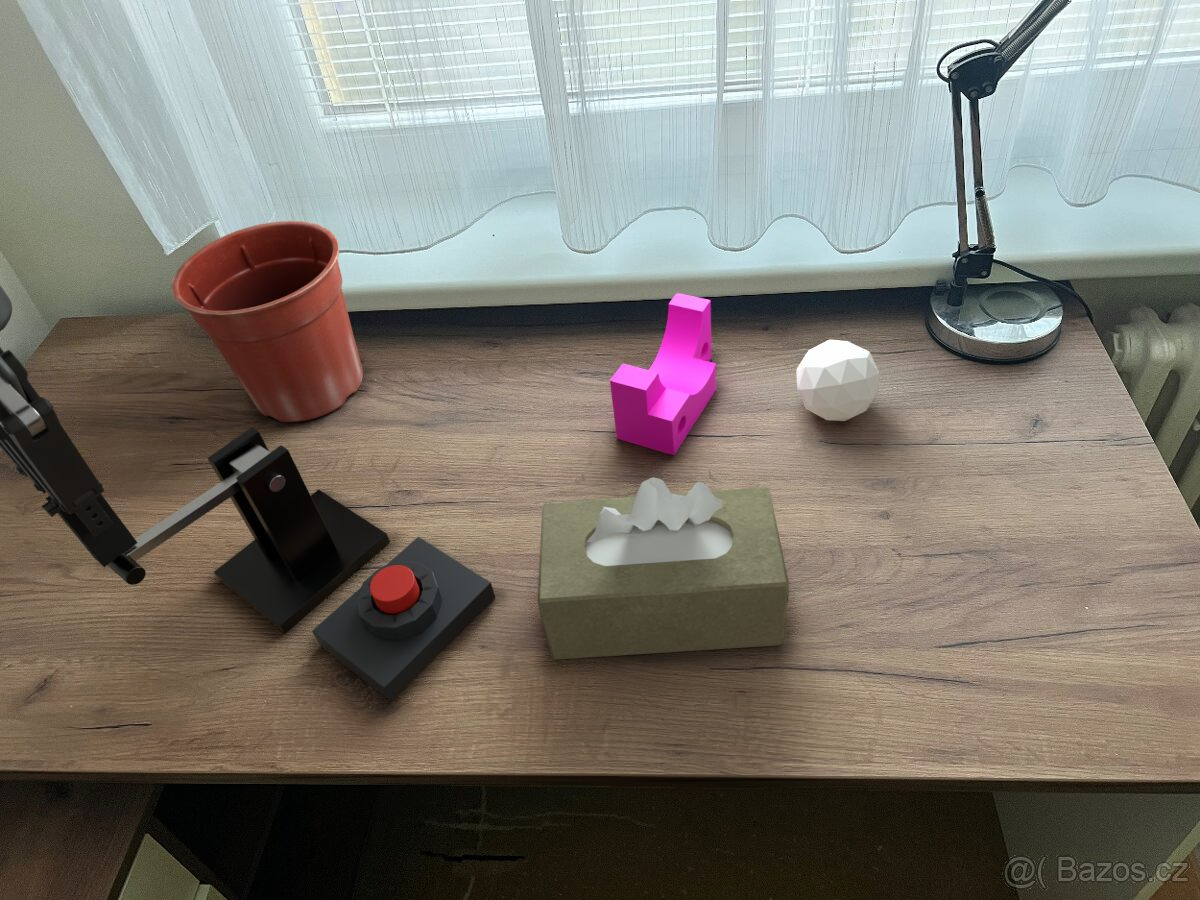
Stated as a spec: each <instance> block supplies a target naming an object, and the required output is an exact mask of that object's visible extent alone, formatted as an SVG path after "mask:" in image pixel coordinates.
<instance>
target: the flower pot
mask: <svg viewBox="0 0 1200 900" xmlns="http://www.w3.org/2000/svg"><path fill="white" fill-rule="evenodd" d="M339 255H340V245H339V241H338V238H337V236H336V235H335V234H334V233H333V232H332V231H331V230H330V229H328V228H326V227H324V226H322V225H319V224H316V223H315V222H309V221H303V220H282V221H281V220H280V221H271V222H266V223H260V224H256V225H252V226H248V227H245V228H242V229H239V230H235V231H233V232H231V233H228V234H226V235H223V236H221V237H220V238H217V239H215V240H213V241H211V242H209V243H208V244H206V245H204V246H203V247H201V248H199V250H197V251H196V252H194V253H193V254H192V255H191V256H189V257H188V258H187V259H186V260H185V261H184V262H183V263H182V265H181V266H179V267H178V269H177V270H176V272H175V273H174V275H173V278H172V281H171V286H170V288H171V294H172V297H173V299H174V300H175V301H176V303H178V304H179V305H180V307H181V308H183V309H184V310H186V311H188V312H189V313H190V315H191V316H192V318H193V319H194V321H195V322H196V323H197V325H198V327H199V328H200V329H201V330H202V331H203V332H204V333H205V334H207V335H208V336H209V337H210V339H211V340H212V342H213V343H214V345H215V347H216V348H217V349H218V351H219V352H220V354H221V356H222V357H223V359H224V360H225V362H226V364H227V365H228V366H229V368H230V369H231V371H232V373H233V374H234V375H235V377H236V379H237V380H238V381H239V383H240V385H241V386H242V388H243V389H244V391H245V392H246V394H247V395H248V396H249V398H250V400H251V401H252V403H253V404H254V406H255V407H256V409H257V410H258V411H259V413H260V414H262V415H263V416H264V417H271V418H273V419H276V420H278V421H279V422H283V423H297V422H298V423H299V422H305V421H309V420H313V419H317V418H320V417H323V416H325V415H328V414H330V413H332V412H334V411H335V410H337V409H339V408H340V407H342V406H343V405H344V404H345V402H346V400H347V398H349V396H350V395H352V394H355V393H357V391H358V390H359V388H360V387H361V385H362V381H363V377H364V370H363V369H364V368H363V365H362V362H361V359H360V354H359V350H358V346H357V343H356V338H355V335H354V332H353V327H352V324H351V320H350V316H349V313H348V308H347V304H346V300H345V297H344V292H343V289H342V286H343V277H342V272H341V268H340V265H339Z"/></svg>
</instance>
